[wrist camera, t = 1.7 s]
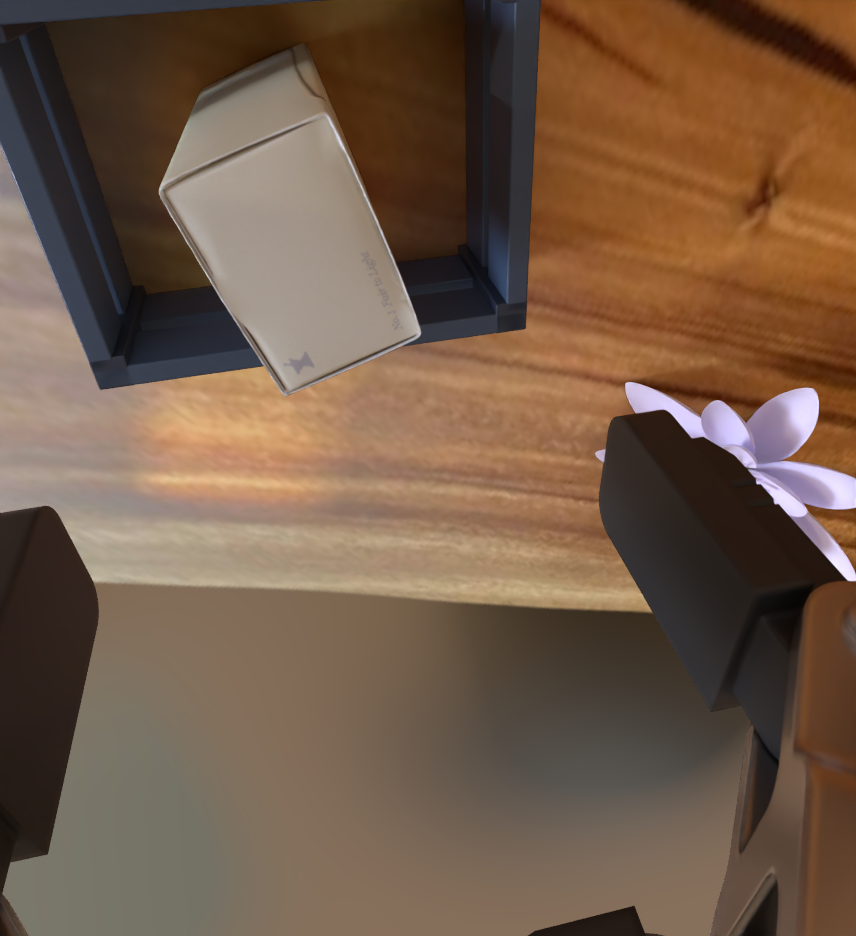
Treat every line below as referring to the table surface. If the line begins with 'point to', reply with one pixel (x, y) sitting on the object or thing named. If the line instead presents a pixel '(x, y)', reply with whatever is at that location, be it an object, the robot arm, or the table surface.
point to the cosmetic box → (287, 223)
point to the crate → (200, 309)
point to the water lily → (769, 455)
